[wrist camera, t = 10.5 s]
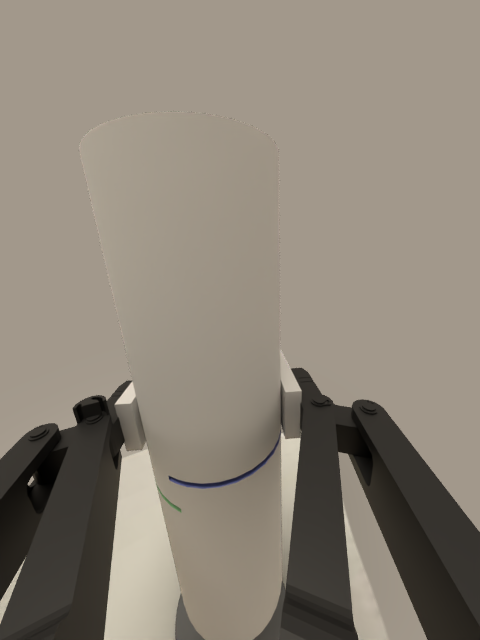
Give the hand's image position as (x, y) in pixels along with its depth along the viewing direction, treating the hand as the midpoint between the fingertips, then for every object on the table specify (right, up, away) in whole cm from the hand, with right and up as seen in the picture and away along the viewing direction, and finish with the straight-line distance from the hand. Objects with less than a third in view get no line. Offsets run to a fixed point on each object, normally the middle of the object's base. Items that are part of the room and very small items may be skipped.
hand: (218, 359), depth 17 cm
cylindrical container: (+1, -15, -1) cm, 15 cm away
